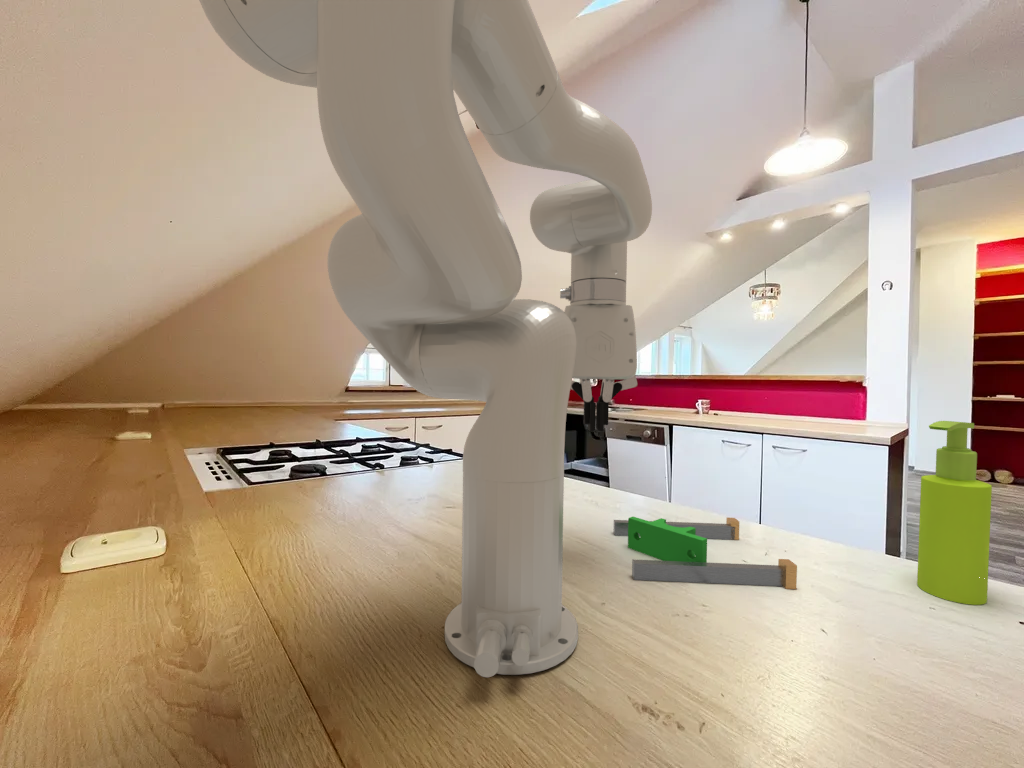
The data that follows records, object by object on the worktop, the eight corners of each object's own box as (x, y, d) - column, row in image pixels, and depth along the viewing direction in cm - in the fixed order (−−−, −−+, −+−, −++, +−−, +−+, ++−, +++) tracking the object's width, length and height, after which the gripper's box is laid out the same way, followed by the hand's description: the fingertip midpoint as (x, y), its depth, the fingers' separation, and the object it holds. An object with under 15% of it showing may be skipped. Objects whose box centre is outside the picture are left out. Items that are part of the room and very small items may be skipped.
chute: (796, 589, 54) (797, 565, 53) (634, 582, 55) (635, 558, 55) (734, 535, 71) (734, 517, 71) (612, 531, 72) (613, 513, 72)
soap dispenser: (901, 587, 54) (907, 419, 54) (933, 577, 57) (939, 418, 57) (965, 611, 49) (973, 425, 49) (997, 599, 52) (1005, 423, 51)
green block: (716, 569, 59) (717, 534, 59) (701, 577, 57) (703, 540, 57) (642, 542, 68) (643, 512, 68) (627, 548, 66) (628, 517, 66)
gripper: (543, 292, 60) (540, 432, 60) (660, 292, 59) (657, 435, 59) (543, 301, 67) (541, 426, 68) (647, 301, 66) (645, 428, 67)
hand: (595, 429), depth 63 cm, fingers closed
